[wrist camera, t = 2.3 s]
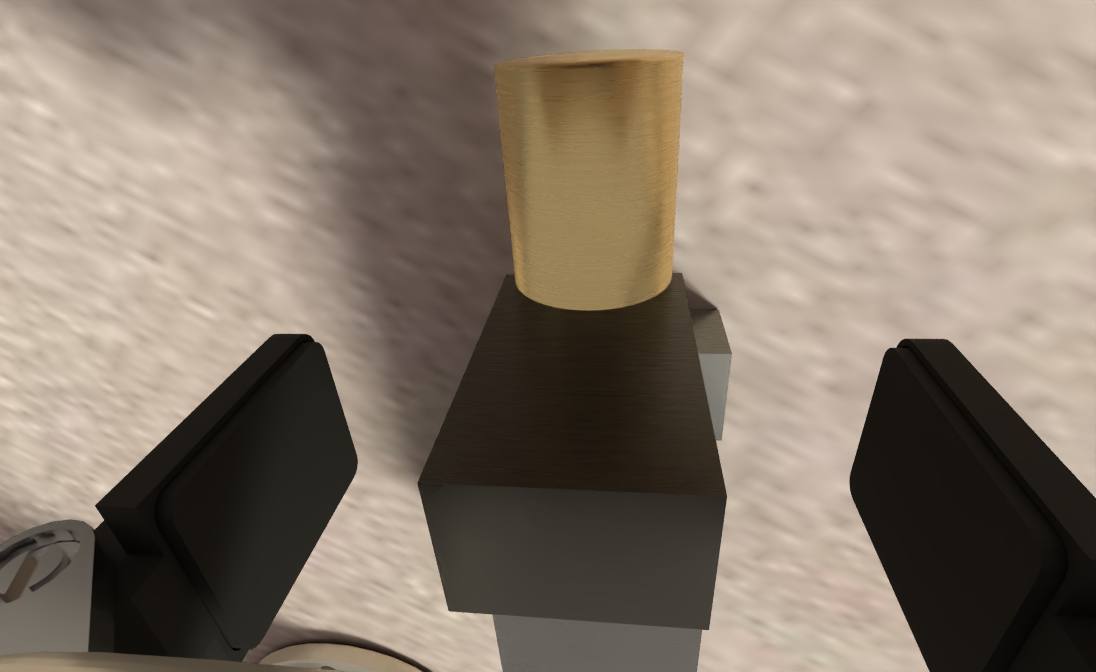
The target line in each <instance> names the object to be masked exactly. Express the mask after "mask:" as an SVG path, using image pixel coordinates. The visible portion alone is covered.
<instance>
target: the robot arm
mask: <svg viewBox="0 0 1096 672" xmlns="http://www.w3.org/2000/svg"><path fill="white" fill-rule="evenodd" d="M357 464H358V460H357V454H356V451H355V448H354V444H353V441H352V438H351V435H350V431H349V428H348V425H347V422H346V419H345V415H344V412H343V409H342V406H341V402H340V399H339V396H338V393H337V390H336V386H335V383H334V380H333V377H332V374H331V370H330V367H329V364H328V361H327V357H326V354H325V351H324V349H323V346H322V345H321V344H320V343H318V342H315V341H314V339H313V338H312V337H311V336H310V335H307V334H274V335H272V336H271V337H270V338H269V339H267V340H266V341H265V342H264V343H263V344H262V345H261V346H260V347H259V348H258V349H257V350H256V351H255V352H254V353H253V354H252V355H251V356H250V357H249V358H248V359H247V360H246V361H245V362H244V363H243V364H242V365H240V366H239V367H238V368H237V369H236V370H235V371H234V372H233V373H232V374H231V375H230V376H229V377H228V378H227V379H226V380H225V381H224V382H223V383H222V384H221V385H220V386H219V387H218V388H217V389H216V390H215V391H213V392H212V393H211V394H210V395H209V396H208V397H207V398H206V399H205V400H204V401H203V402H202V403H201V404H200V405H199V406H198V407H197V408H196V409H195V410H194V411H193V412H192V413H191V414H190V415H189V416H188V417H186V418H185V419H184V420H183V421H182V422H181V423H180V424H179V425H178V426H177V427H176V428H175V429H174V430H173V431H172V432H171V433H170V434H169V435H168V436H167V437H166V438H165V439H164V440H163V441H162V442H161V443H159V444H158V445H157V446H156V447H155V448H154V449H153V450H152V451H151V452H150V453H149V454H148V455H147V456H146V457H145V458H144V459H143V460H142V461H141V462H140V463H139V464H138V465H137V466H136V467H135V468H134V469H132V470H131V471H130V472H129V473H128V474H127V475H126V476H125V477H124V478H123V479H122V480H121V481H120V482H119V483H118V484H117V485H116V486H115V487H114V488H113V489H112V490H111V491H110V492H109V493H108V494H107V495H105V496H104V497H103V498H102V499H101V500H100V501H99V502H98V503H97V504H96V505H95V507H96V508H97V510H98V511H99V513H100V514H101V516H102V517H103V519H104V521H103V522H102V523H101V524H100V525H99V526H98V527H97V528H96V529H95V530H94V529H93V528H92V527H91V526H90V525H88V524H87V523H85V522H84V521H77V520H63V521H55V522H50V523H47V524H44V525H41V526H37V527H34V528H32V529H29V530H27V531H25V532H23V533H21V534H19V535H16V536H14V537H12V538H10V539H9V540H7V541H6V542H4V543H2V544H1V545H0V672H423V671H421V670H420V669H418V668H416V667H414V666H412V665H410V664H408V663H405V662H403V661H401V660H399V659H396V658H394V657H391V656H388V655H385V654H382V653H379V652H376V651H372V650H368V649H363V648H359V647H354V646H349V645H340V644H331V643H308V644H301V645H294V646H289V647H286V648H283V649H280V650H277V651H275V652H272V653H271V654H269V655H268V656H266V657H265V658H263V659H262V660H261V661H260V662H259V664H258V663H246V662H242V660H243V659H244V657H245V655H246V653H247V652H248V650H249V649H253V648H255V647H256V646H257V645H258V644H259V643H260V642H261V640H262V639H263V637H264V636H265V634H266V632H267V630H268V629H269V627H270V625H271V623H272V622H273V620H274V618H275V616H276V614H277V613H278V611H279V609H280V607H281V606H282V604H283V602H284V600H285V599H286V597H287V595H288V593H289V591H290V590H291V588H292V586H293V584H294V583H295V581H296V579H297V577H298V575H299V574H300V572H301V570H302V568H303V567H304V565H305V563H306V561H307V560H308V558H309V556H310V554H311V552H312V551H313V549H314V547H315V545H316V544H317V542H318V540H319V538H320V537H321V535H322V533H323V531H324V529H325V528H326V526H327V524H328V522H329V521H330V519H331V517H332V515H333V514H334V512H335V510H336V508H337V506H338V505H339V503H340V501H341V499H342V498H343V496H344V494H345V492H346V490H347V489H348V487H349V485H350V483H351V482H352V480H353V478H354V476H355V474H356V470H357ZM850 491H851V495H852V498H853V500H854V503H855V505H856V507H857V509H858V512H859V514H860V516H861V518H862V521H863V523H864V525H865V527H866V530H867V532H868V534H869V536H870V539H871V541H872V543H873V545H874V548H875V550H876V552H877V554H878V557H879V559H880V561H881V563H882V566H883V568H884V570H885V572H886V575H887V577H888V579H889V581H890V584H891V586H892V588H893V590H894V593H895V595H896V597H897V599H898V602H899V604H900V606H901V608H902V611H903V613H904V615H905V617H906V620H907V622H908V624H909V626H910V629H911V631H912V633H913V635H914V638H915V640H916V642H917V644H918V647H919V649H920V651H921V653H922V656H923V658H924V660H925V662H926V665H927V667H928V669H929V671H930V672H1096V498H1095V497H1094V496H1093V495H1092V494H1091V493H1090V492H1089V491H1088V489H1087V488H1086V487H1085V486H1084V485H1083V484H1082V483H1081V482H1080V481H1079V480H1078V479H1077V478H1076V476H1075V475H1074V474H1073V473H1072V472H1071V471H1070V470H1069V469H1068V468H1067V467H1066V466H1065V465H1064V464H1063V462H1062V461H1061V460H1060V459H1059V458H1058V457H1057V456H1056V455H1055V454H1054V453H1053V452H1052V451H1051V449H1050V448H1049V447H1048V446H1047V445H1046V444H1045V443H1044V442H1043V441H1042V440H1041V439H1040V438H1039V437H1038V435H1037V434H1036V433H1035V432H1034V431H1033V430H1032V429H1031V428H1030V427H1029V426H1028V425H1027V424H1026V422H1025V421H1024V420H1023V419H1022V418H1021V417H1020V416H1019V415H1018V414H1017V413H1016V412H1015V411H1014V410H1013V408H1012V407H1011V406H1010V405H1009V404H1008V403H1007V402H1006V401H1005V400H1004V399H1003V398H1002V397H1001V395H1000V394H999V393H998V392H997V391H996V390H995V389H994V388H993V387H992V386H991V385H990V384H989V383H988V381H987V380H986V379H985V378H984V377H983V376H982V375H981V374H980V373H979V372H978V371H977V370H976V368H975V367H974V366H973V365H972V364H971V363H970V362H969V361H968V360H967V359H966V358H965V357H964V356H963V354H962V353H961V352H960V351H959V350H958V349H957V348H956V347H955V346H954V345H953V344H952V343H951V342H950V341H948V340H946V339H904V340H902V341H901V342H900V343H899V344H898V345H897V348H890V349H888V350H887V351H886V352H885V355H884V357H883V361H882V365H881V368H880V372H879V375H878V379H877V382H876V386H875V389H874V393H873V396H872V400H871V403H870V407H869V410H868V414H867V417H866V421H865V424H864V428H863V431H862V435H861V438H860V442H859V445H858V449H857V452H856V456H855V459H854V463H853V467H852V470H851V474H850Z"/></svg>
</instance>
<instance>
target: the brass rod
mask: <svg viewBox="0 0 1096 672" xmlns="http://www.w3.org/2000/svg"><path fill="white" fill-rule="evenodd" d="M683 60H684V53H682V52H679V51H671V50H647V49H637V50H604V51H586V52H572V53H560V54H550V55H541V56H533V57H526V58H519V59H513V60H508V61H504V62H500V63H497V64H495V65H494V73H495V83H496V93H497V103H498V113H499V123H500V133H501V143H502V153H503V163H504V173H505V183H506V193H507V203H508V213H509V223H510V233H511V243H512V253H513V263H514V273H515V274H513V275H506V278H505V280H504V282H503V285H502V287H501V289H500V292H499V294H498V296H497V299H496V301H495V303H494V306H493V308H492V310H491V313H490V315H489V317H488V320H487V322H486V324H485V327H484V329H483V331H482V334H481V336H480V338H479V341H478V343H477V345H476V348H475V350H474V352H473V355H472V357H471V359H470V362H469V364H468V366H467V369H466V371H465V373H464V376H463V378H462V380H461V383H460V385H459V387H458V390H457V392H456V394H455V397H454V399H453V401H452V404H451V406H450V408H449V411H448V413H447V415H446V418H445V420H444V422H443V425H442V427H441V429H440V432H439V434H438V436H437V439H436V441H435V443H434V446H433V448H432V450H431V453H430V455H429V457H428V460H427V462H426V464H425V467H424V469H423V471H422V474H421V476H420V478H419V481H418V487H419V491H420V495H421V499H422V503H423V507H424V512H425V516H426V520H427V524H428V528H429V532H430V536H431V540H432V544H433V548H434V553H435V557H436V561H437V565H438V569H439V573H440V577H441V581H442V585H443V589H444V594H445V598H446V602H447V606H448V610H449V611H454V612H468V613H482V614H495V615H509V616H523V617H536V618H550V619H564V620H577V621H591V622H605V623H619V624H632V625H646V626H660V627H673V628H687V629H701V630H709V625H710V618H711V610H712V603H713V596H714V588H715V581H716V573H717V566H718V559H719V551H720V544H721V537H722V529H723V522H724V515H725V507H726V500H727V494H726V489H725V484H724V479H723V474H722V469H721V464H720V459H719V454H718V449H717V444H716V439H715V434H714V429H713V424H712V419H711V414H710V409H709V404H708V400H707V395H706V390H705V385H704V380H703V375H702V370H701V365H700V360H699V355H698V350H697V345H696V340H695V335H694V330H693V325H692V320H691V315H690V310H689V305H688V300H687V295H686V290H685V286H684V281H683V276H682V273H672V267H673V248H674V229H675V210H676V192H677V173H678V154H679V135H680V116H681V98H682V79H683Z"/></svg>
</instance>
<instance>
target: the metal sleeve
mask: <svg viewBox="0 0 1096 672" xmlns="http://www.w3.org/2000/svg"><path fill="white" fill-rule="evenodd" d="M690 315H691V320H692V325H693V330H694V335H695V340H696V345H697V350H698V355H699V360H700V365H701V370H702V375H703V380H704V385H705V390H706V395H707V400H708V404H709V409H710V414H711V419H712V424H713V429H714V434H715V439H716V440H722V431H723V423H724V415H725V406H726V398H727V390H728V382H729V373H730V365H731V357H732V353H731V350H730V346H729V343H728V339H727V336H726V333H725V329H724V326H723V322H722V319H721V316H720V312H719V310H690ZM493 620H494V625H495V631H496V636H497V642H498V647H499V653H500V658H501V664H502V669H503V672H697V666H698V658H699V650H700V642H701V634H702V630H701V629H687V628H673V627H660V626H646V625H632V624H619V623H605V622H591V621H577V620H564V619H550V618H536V617H523V616H509V615H495V614H493Z"/></svg>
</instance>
